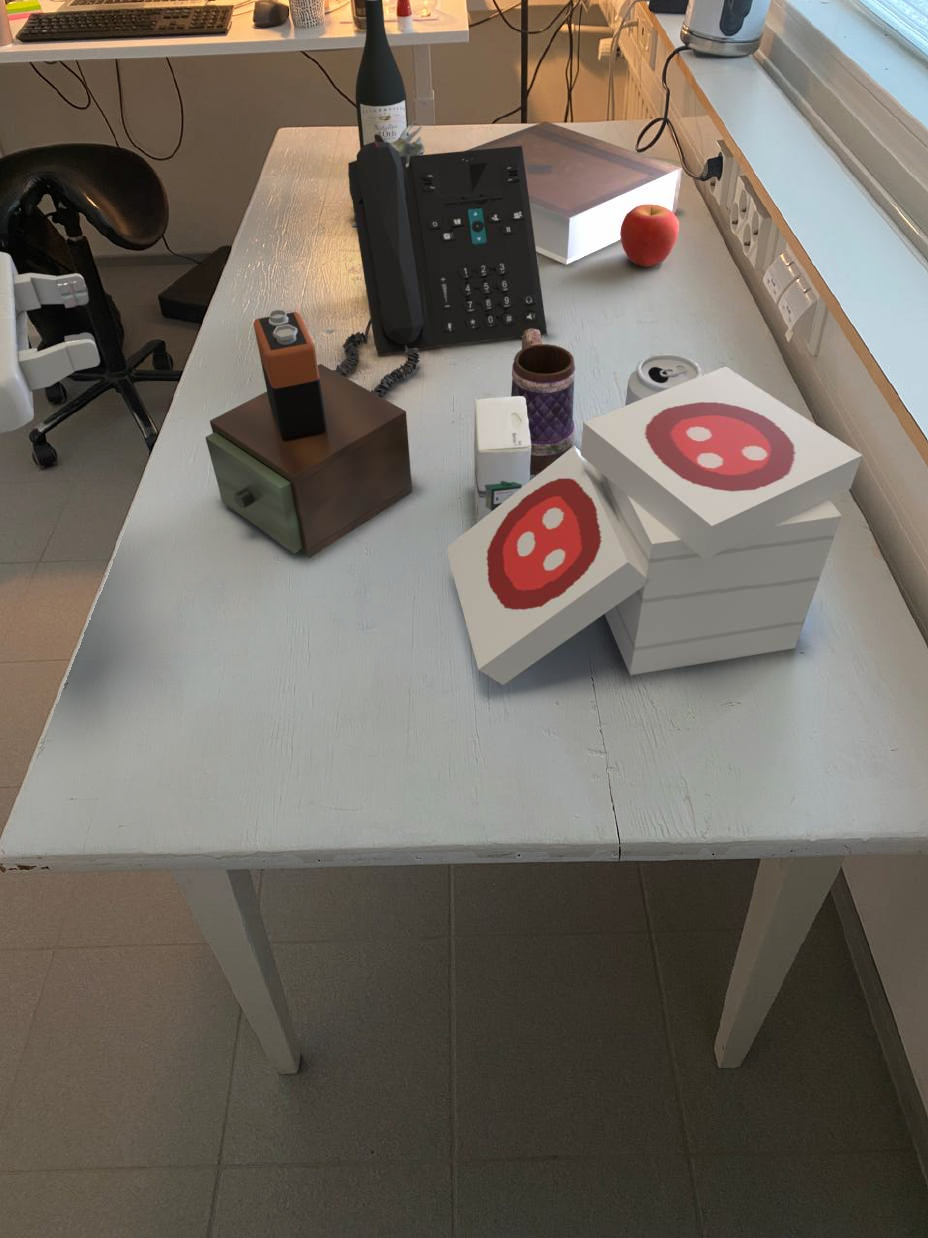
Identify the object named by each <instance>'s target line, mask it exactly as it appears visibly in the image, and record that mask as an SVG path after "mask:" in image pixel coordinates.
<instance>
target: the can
mask: <svg viewBox="0 0 928 1238" xmlns="http://www.w3.org/2000/svg"><path fill="white" fill-rule="evenodd" d="M702 375H703V372H702V367H701V366H700V365H699V364H698V363H697V362H696V361H694V360H692V359H691V358H689V357H687V356H684V355H681V354H677V353H676V354H675V353H657V354H655V353H654V354H651V355H649V356H646V357H644V358H642V359H641V360H640V361H639V362H638V364H637V366H636V368H635V370H634V371H633V372H632V373H630V375H629V378H628V380H627V388H626V394H625V395H626V396H625V404H624V406H626V405H629V404H631V403H634V402H636V401H639V400H641V399H644V398H646V397H649V396H651V395H654V394H657V393H659V392H662V391H664V390H667V389H669V388H672V387H674V386H677V385H679V384H682V383H684V382H687V381H690V380H692V379H695V378H697V377H700V376H702Z"/></svg>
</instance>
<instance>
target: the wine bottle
mask: <svg viewBox="0 0 928 1238" xmlns="http://www.w3.org/2000/svg"><path fill="white" fill-rule="evenodd" d="M383 3H384V2H383V0H364V11H365V27H366V28H365V29H366V30H365V41H364V46H363V51H362V56H361V60H360V63H359V68H358V72H357V76H356V81H355V95H354V96H355V107H356V118H357V119H356V120H357V129H358V140H359V141H358V142H359V150H360V149H361V148H362V146H363V145H366V144H369V143H372V142H375V138H374V136H375V135H374V133H375V134H376V133H378V134H380V135H382V137H383V138H384V139H385V140H386V141H388V142H390V143H392V142H395V141H397V140H398V139H399V137H400V135H401V133H402V132H403V131H404V130H405V129H406V128H407V127H409V118H408V117H409V116H408V102H407V93H406V89H405V83H404V80H403V77H402V74H401V71H400V68H399V67H398V64H397V61H396V59H395V57H394V54H393V51H392V48H391V46H390V43H389V41H388V37H387V33H386V27H385V19H384V4H383ZM408 135H409V132H408V133H407V135H406V137H407V136H408ZM405 139H406V138H405ZM406 169H409V163H408V164H406Z"/></svg>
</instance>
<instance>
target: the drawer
mask: <svg viewBox="0 0 928 1238" xmlns="http://www.w3.org/2000/svg"><path fill="white" fill-rule="evenodd" d="M204 438H205V442H206V446H207V449H208V453H209V456H210V461H211V465H212V468H213V472H214V476H215V480H216V483H217V486H218V490H219V491H218V492H219V494H220V498H221V501H222V502H223V503H224V504H225V505H227V507H229V508H230V509H232V510H233V511H235V512H236V513H238V515H240V516H241V517H243V518H244V519H245V520H246V521H248V522H249V523H251V524H252V525H254V526H255V527H256V528H258V529H259V530H261V531H262V532H263V533H264V534H266V535H267V536H269V537H270V538H272V539H273V540H274V541H276V542H277V543H279V544H280V545H281V546H282V547H284V548H285V549H287V550H288V551H290V553H292V554H296V553H297V552H300V551H299V550H300V549H302V548H303V544H302V539H301V534H300V529H299V524H298V518H297V513H296V508H295V503H294V498H293V493H292V488H291V483H290V482H289V480H288V479H286V478H285V477H283V476H282V475H280V474H279V473H277V472H276V471H274V470H273V469H271V468H270V467H268V466H267V465H265V464H264V463H262V462H261V461H260V460H258V459H257V458H255V457H254V456H252V455H251V454H249V453H248V452H246V451H245V450H243V449H242V448H240V447H239V446H237V445H236V446H235V445H234V444H232V443H231V442H229V441H228V440H226V439H225V438H223V437H222V436H220V435H219V434H217V433H216V432H214V433H213V432H212V433H210V434H208V435H207V436H205V437H204Z"/></svg>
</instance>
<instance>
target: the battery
mask: <svg viewBox="0 0 928 1238" xmlns="http://www.w3.org/2000/svg"><path fill="white" fill-rule="evenodd" d="M253 328H254V334H255V338H256V339H255V340H256V343H257V349H258V355H259V358H260V362H261V363H260V364H261V368H262V369H261V370H262V373H263V378H264V382H265V388H266V392H267V394H268V399H269V403H270V406H271V409H272V412H273V415H274V417H275V420H276V423H277V426H278V428H279V431H280V434H281V436H282V438H283V439H285V440H287V439H292V438H297V437H302V436H306V435H311V434H316V433H320V432H324V431H326V429H327V423H326V416H325V410H324V403H323V397H322V390H321V384H320V377H319V370H318V365H319V364H318V359H317V352H316V351H317V350H316V346H315V344H314V341H313V339H312V337H311V334H310V331H308V328H307V326H306V324H305V322H304V319H303V318H302V316H301V313H299V312H297V311H292V312H287V311H285V310H283V309H275V310H271V311H269V314H268V316H265V317H260V318H255V319H254V321H253Z"/></svg>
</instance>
